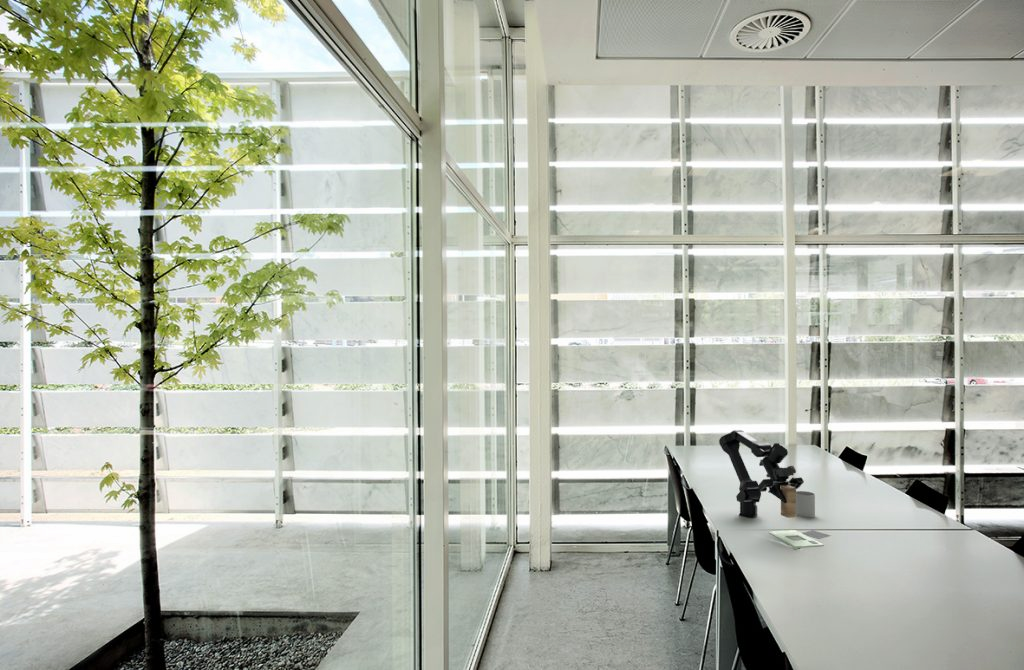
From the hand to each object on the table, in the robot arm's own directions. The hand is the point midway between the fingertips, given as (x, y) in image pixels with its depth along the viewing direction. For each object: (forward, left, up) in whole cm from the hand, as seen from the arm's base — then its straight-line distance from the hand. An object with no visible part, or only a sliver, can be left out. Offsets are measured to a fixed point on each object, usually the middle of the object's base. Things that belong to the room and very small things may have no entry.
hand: (790, 502), depth 249 cm
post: (-1, +1, -6) cm, 6 cm away
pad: (+8, +5, -13) cm, 16 cm away
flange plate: (+3, -6, -13) cm, 15 cm away
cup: (-3, +33, -13) cm, 36 cm away
